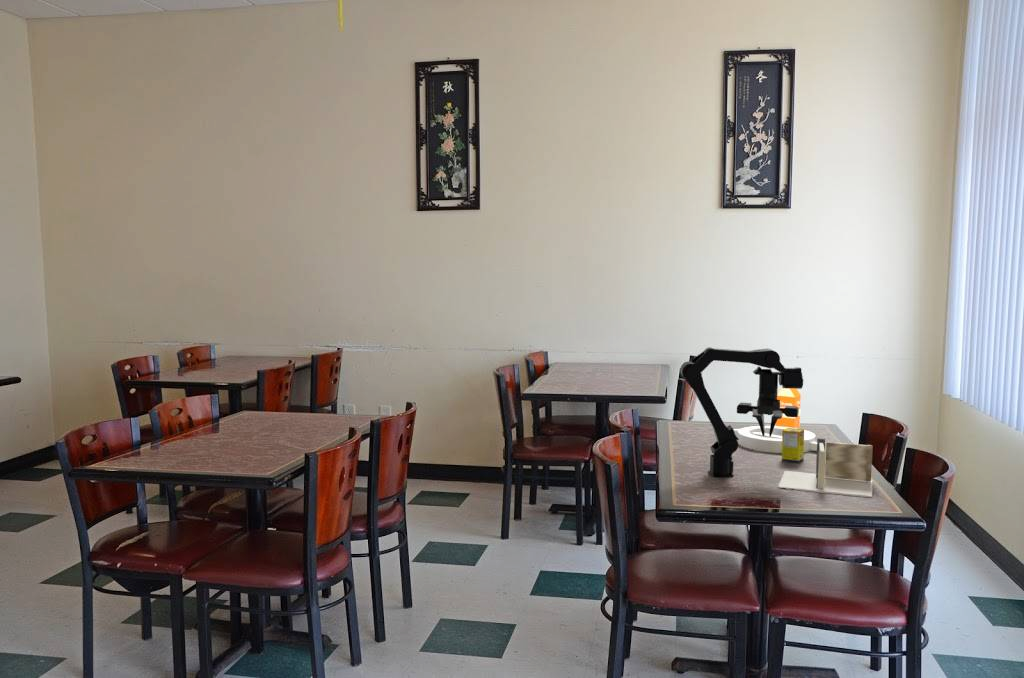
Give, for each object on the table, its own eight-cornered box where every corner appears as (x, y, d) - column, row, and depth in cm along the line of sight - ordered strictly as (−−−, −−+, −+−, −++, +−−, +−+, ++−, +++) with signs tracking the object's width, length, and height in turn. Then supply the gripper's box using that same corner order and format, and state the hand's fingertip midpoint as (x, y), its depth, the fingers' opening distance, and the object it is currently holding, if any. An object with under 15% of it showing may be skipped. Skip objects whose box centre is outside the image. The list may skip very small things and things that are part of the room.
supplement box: (803, 460, 301) (804, 429, 300) (798, 463, 296) (799, 432, 295) (786, 457, 305) (787, 427, 304) (781, 461, 300) (782, 430, 299)
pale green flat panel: (818, 487, 262) (819, 451, 261) (817, 477, 274) (818, 442, 273) (824, 488, 261) (825, 452, 260) (823, 477, 274) (824, 442, 273)
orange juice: (799, 429, 354) (801, 381, 352) (794, 433, 347) (795, 383, 345) (780, 427, 358) (782, 379, 356) (774, 431, 351) (776, 382, 349)
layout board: (778, 488, 265) (778, 486, 265) (784, 472, 284) (784, 470, 284) (871, 497, 255) (872, 495, 254) (872, 480, 274) (872, 478, 274)
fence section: (815, 479, 275) (816, 439, 274) (816, 477, 277) (817, 437, 276) (870, 484, 269) (872, 443, 267) (871, 483, 271) (872, 442, 270)
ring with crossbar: (825, 454, 312) (826, 441, 311) (747, 453, 312) (747, 441, 312) (801, 437, 339) (802, 426, 339) (730, 437, 340) (730, 425, 340)
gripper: (734, 390, 273) (733, 438, 275) (796, 393, 266) (794, 443, 267) (739, 385, 283) (738, 432, 285) (799, 388, 276) (798, 436, 278)
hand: (766, 436), depth 278 cm, fingers closed
